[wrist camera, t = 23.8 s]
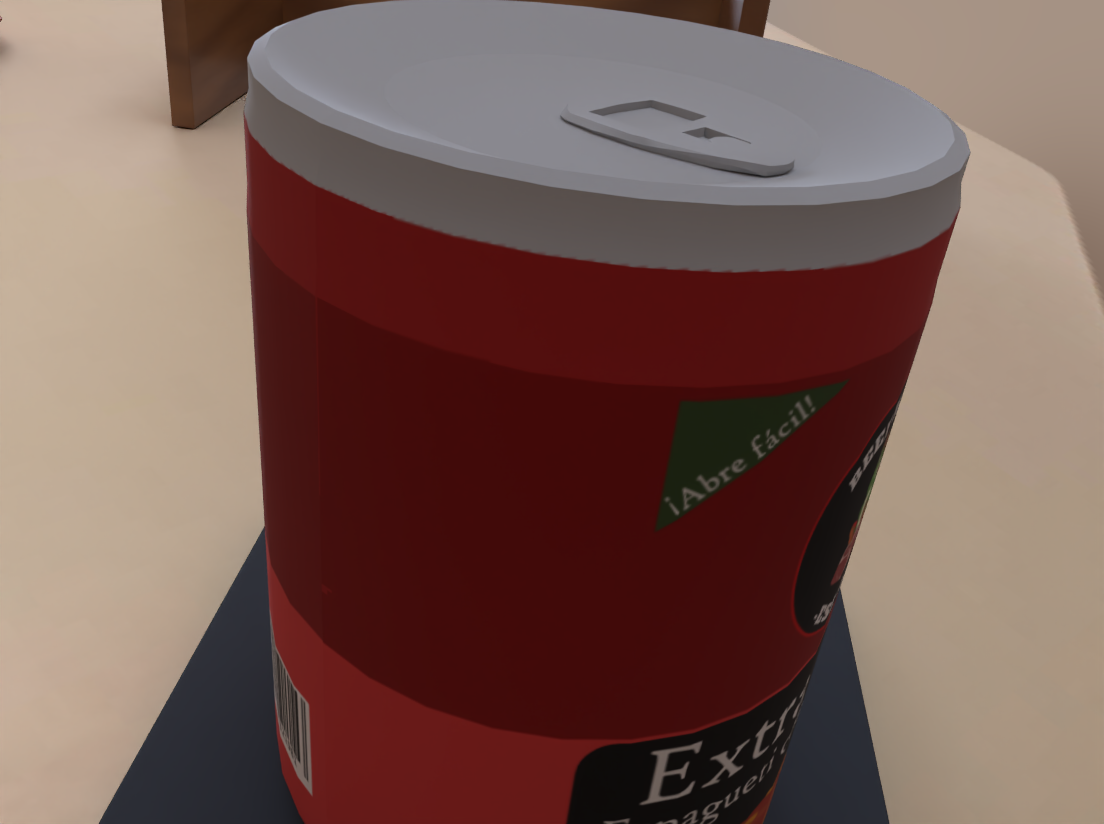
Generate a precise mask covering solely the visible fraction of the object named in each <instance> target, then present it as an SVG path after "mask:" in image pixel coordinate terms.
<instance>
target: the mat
mask: <svg viewBox="0 0 1104 824" xmlns="http://www.w3.org/2000/svg"><path fill="white" fill-rule="evenodd" d="M99 824H304V822H303V820H302V818H301V816H300V815H299V812H298V810H297V807H296V805H295V803H294V800H293V798H292V795H291V793H290V790H289V788H288V786H287V783H286V781H285V778H284V776H283V773H282V766H281V759H280V752H279V745H278V738H277V729H276V712H275V694H274V677H273V660H272V642H271V625H270V607H269V590H268V573H267V555H266V538H265V527H264V528H263V530H262V532H261V534H260V536H259V537H258V539H257V541H256V543H255V545H254V546H253V548H252V550H251V552H250V554H249V555H248V557H247V559H246V561H245V562H244V564H243V566H242V568H241V570H240V571H239V573H238V575H237V577H236V579H235V580H234V582H233V584H232V586H231V588H230V589H229V591H228V593H227V595H226V596H225V598H224V600H223V602H222V604H221V605H220V607H219V609H218V611H217V613H216V614H215V616H214V618H213V620H212V622H211V623H210V625H209V627H208V629H207V631H206V632H205V634H204V636H203V638H202V639H201V641H200V643H199V645H198V647H197V648H196V650H195V652H194V654H193V656H192V657H191V659H190V661H189V663H188V665H187V666H186V668H185V670H184V672H183V673H182V675H181V677H180V679H179V681H178V682H177V684H176V686H175V688H174V690H173V691H172V693H171V695H170V697H169V699H168V700H167V702H166V704H165V706H164V708H163V709H162V711H161V713H160V715H159V716H158V718H157V720H156V722H155V724H154V725H153V727H152V729H151V731H150V733H149V734H148V736H147V738H146V740H145V742H144V743H143V745H142V747H141V749H140V750H139V752H138V754H137V756H136V758H135V759H134V761H133V763H132V765H131V767H130V768H129V770H128V772H127V774H126V776H125V777H124V779H123V781H122V783H121V784H120V786H119V788H118V790H117V792H116V793H115V795H114V797H113V799H112V801H111V802H110V804H109V806H108V808H107V810H106V811H105V813H104V815H103V817H102V819H101V820H100V822H99ZM763 824H889V819H888V815H887V810H886V805H885V800H884V795H883V791H882V786H881V781H880V776H879V772H878V767H877V762H876V757H875V752H874V748H873V743H872V738H871V733H870V728H869V724H868V719H867V714H866V709H865V705H864V700H863V695H862V690H861V685H860V681H859V676H858V671H857V666H856V662H855V657H854V652H853V647H852V642H851V638H850V633H849V628H848V623H847V618H846V614H845V609H844V604H843V599H842V595H841V590H840V589H839V592H838V595H837V599H836V602H835V605H834V608H833V611H832V614H831V617H830V620H829V623H828V626H827V629H826V632H825V636H824V639H823V642H822V645H821V648H820V651H819V654H818V657H817V660H816V663H815V666H814V670H813V673H812V676H811V679H810V682H809V685H808V688H807V691H806V694H805V697H804V700H803V703H802V707H801V710H800V713H799V716H798V719H797V722H796V725H795V728H794V731H793V734H792V737H791V741H790V744H789V747H788V750H787V753H786V756H785V759H784V762H783V765H782V768H781V771H780V774H779V778H778V781H777V784H776V787H775V790H774V793H773V796H772V799H771V802H770V805H769V808H768V811H767V814H766V817H765V819H764V822H763Z"/></svg>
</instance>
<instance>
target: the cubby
mask: <svg viewBox="0 0 1104 824" xmlns="http://www.w3.org/2000/svg"><path fill="white" fill-rule="evenodd" d="M386 1H399V0H162V12H163V23H164V35H165V46H166V58H167V70H168V81H169V93H170V104H171V116H172V125H173V126H178V127H185V128H193V129H194V128H196V127H197V126H199V125H200V124H201V123H203V122H204V121H206V120H207V119H209V118H210V117H212V116H213V115H214V114H216V113H217V112H219V111H220V110H222V109H223V108H224V107H226V106H227V105H229V104H230V103H232V102H233V101H234V100H236V99H237V98H239V97H240V96H242V95H243V94H244V93H246V92H247V91H248V89H249V85H248V64H247V57H248V55H249V53H250V51H251V49H252V46H253V44H254V42H255V41H256V40H257V39H259V38H260V37H262V36H263V35H265V34H266V33H268V32H269V31H271V30H272V29H274V28H275V27H277V26H280V25H282V24H285V23H287V22H290V21H293V20H295V19H298V18H301V17H304V16H307V15H310V14H313V13H316V12H319V11H324V10H329V9H335V8H340V7H345V6H350V5H357V4H367V3H376V2H386ZM506 1H525V2H540V3H551V4H562V5H573V6H584V7H593V8H600V9H608V10H616V11H624V12H632V13H639V14H645V15H651V16H658V17H664V18H670V19H676V20H682V21H688V22H693V23H698V24H703V25H708V26H713V27H718V28H723V29H728V30H733V31H738V32H742V33H746V34H750V35H754V36H758V37H762V38H763V35H764V30H765V25H766V20H767V14H768V9H769V5H770V0H506Z"/></svg>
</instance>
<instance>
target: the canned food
mask: <svg viewBox="0 0 1104 824" xmlns="http://www.w3.org/2000/svg"><path fill="white" fill-rule="evenodd" d="M247 64H248V85H249V89H248V93H247V98H246V102H245V107H244V129H245V148H246V168H247V225H248V243H249V260H250V278H251V295H252V312H253V330H254V347H255V364H256V382H257V399H258V416H259V434H260V451H261V469H262V486H263V503H264V521H265V538H266V555H267V573H268V590H269V607H270V625H271V642H272V660H273V677H274V694H275V712H276V729H277V738H278V745H279V752H280V759H281V766H282V773H283V776H284V778H285V781H286V783H287V786H288V788H289V790H290V793H291V795H292V798H293V800H294V803H295V805H296V807H297V810H298V812H299V815H300V816H301V818H302V820H303V822H304V824H763V822H764V819H765V817H766V814H767V811H768V808H769V805H770V802H771V799H772V796H773V793H774V790H775V787H776V784H777V781H778V778H779V774H780V771H781V768H782V765H783V762H784V759H785V756H786V753H787V750H788V747H789V744H790V741H791V737H792V734H793V731H794V728H795V725H796V722H797V719H798V716H799V713H800V710H801V707H802V703H803V700H804V697H805V694H806V691H807V688H808V685H809V682H810V679H811V676H812V673H813V670H814V666H815V663H816V660H817V657H818V654H819V651H820V648H821V645H822V642H823V639H824V636H825V632H826V629H827V626H828V623H829V620H830V617H831V614H832V611H833V608H834V605H835V602H836V599H837V595H838V592H839V589H840V586H841V583H842V580H843V577H844V574H845V571H846V568H847V565H848V561H849V558H850V555H851V552H852V549H853V546H854V543H855V540H856V537H857V534H858V531H859V527H860V524H861V521H862V518H863V515H864V512H865V509H866V506H867V503H868V500H869V497H870V494H871V490H872V487H873V484H874V481H875V478H876V475H877V472H878V469H879V466H880V463H881V460H882V456H883V453H884V450H885V447H886V444H887V441H888V438H889V435H890V432H891V429H892V426H893V423H894V419H895V416H896V413H897V410H898V407H899V404H900V401H901V398H902V395H903V392H904V389H905V385H906V382H907V379H908V376H909V373H910V370H911V367H912V364H913V361H914V358H915V355H916V352H917V348H918V345H919V342H920V339H921V336H922V333H923V330H924V327H925V324H926V321H927V318H928V314H929V311H930V308H931V305H932V302H933V297H934V293H935V288H936V284H937V279H938V276H939V273H940V270H941V266H942V263H943V260H944V257H945V254H946V251H947V247H948V244H949V241H950V238H951V235H952V232H953V229H954V225H955V222H956V219H957V216H958V213H959V210H960V202H961V181H962V178H963V175H964V172H965V168H966V165H967V162H968V159H969V156H970V149H969V146H968V142H967V138H966V135H965V133H964V132H963V131H962V130H961V129H960V128H959V127H958V126H957V125H956V124H955V123H954V122H953V121H952V120H951V118H949V116H948V115H947V114H945V113H944V112H942V111H941V110H940V109H938V108H937V107H935V106H934V105H933V104H931V103H930V102H928V101H927V100H925V99H923V98H922V97H920V96H919V95H917V94H915V93H914V92H912V91H911V90H909V89H907V88H906V87H904V86H902V85H899V84H897V83H895V82H893V81H890V80H889V79H886V78H884V77H882V76H880V75H878V74H875V73H873V72H871V71H869V70H866V69H863V68H860V67H857V66H855V65H852V64H849V63H847V62H844V61H841V60H838V59H836V58H833V57H830V56H827V55H823V54H820V53H817V52H813V51H810V50H807V49H803V48H800V47H796V46H793V45H790V44H786V43H782V42H778V41H774V40H770V39H766V38H762V37H758V36H754V35H750V34H746V33H742V32H738V31H733V30H728V29H723V28H718V27H713V26H708V25H703V24H698V23H693V22H688V21H682V20H676V19H670V18H664V17H658V16H651V15H645V14H639V13H632V12H624V11H616V10H608V9H600V8H593V7H584V6H573V5H562V4H551V3H540V2H525V1H506V0H399V1H386V2H376V3H367V4H357V5H350V6H345V7H340V8H335V9H329V10H324V11H319V12H316V13H313V14H310V15H307V16H304V17H301V18H298V19H295V20H293V21H290V22H287V23H285V24H282V25H280V26H277V27H275V28H274V29H272V30H271V31H269V32H268V33H266V34H265V35H263V36H262V37H260V38H259V39H257V40H256V41H255V42H254V44H253V46H252V49H251V51H250V53H249V55H248V57H247Z"/></svg>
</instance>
